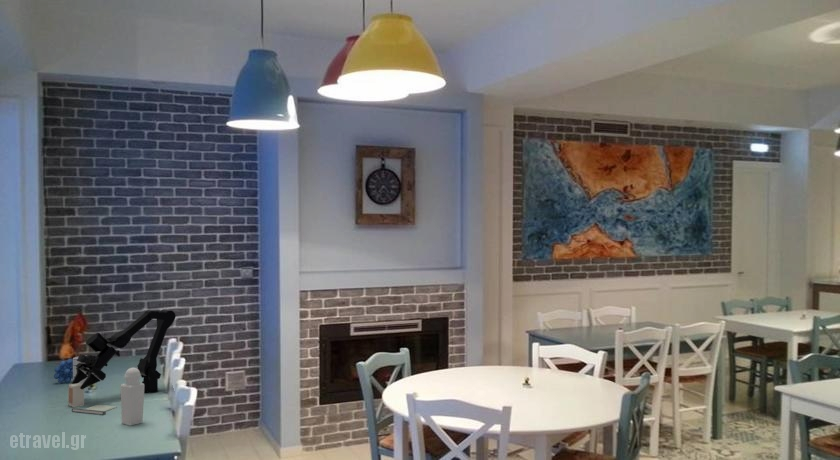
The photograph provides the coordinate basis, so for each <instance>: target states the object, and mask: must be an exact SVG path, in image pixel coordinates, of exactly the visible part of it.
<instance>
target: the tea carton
mask: <svg viewBox="0 0 840 460" xmlns="http://www.w3.org/2000/svg"><path fill="white" fill-rule="evenodd" d="M81 386H82V384H81V383H77V384H72V383H71V384H68V406H69V407H71V406H72V407H71V408H76V406H78V407H81V406H82V405H83V406H85V388H84V389H80V387H81Z"/></svg>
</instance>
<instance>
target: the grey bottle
mask: <svg viewBox="0 0 840 460" xmlns="http://www.w3.org/2000/svg"><path fill="white" fill-rule="evenodd" d="M123 376H124V379H125V380H126V383H121V385H120V410H121V411H120V414H121V417H120V418H121V425H126V426H130V427H131V426H135V425H138V424H142V423H143V418H144V417H143V416H144V402H145V401H144V400H145V393H144V386H145V385H144V384H143V383H142V382H139V380H140V378H141V374H140V371H139V370H138V367H129V368H128V369H127V370H125V373H124V375H123Z"/></svg>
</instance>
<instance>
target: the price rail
mask: <svg viewBox="0 0 840 460" xmlns="http://www.w3.org/2000/svg"><path fill="white" fill-rule="evenodd" d="M71 412H72V413H79V414H80V413H81V414H91V415H101V416H104V415H107V414H106V413H107V411H97V410H88V409H86V408H78V407H77V408H76V407H72V409H71Z"/></svg>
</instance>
